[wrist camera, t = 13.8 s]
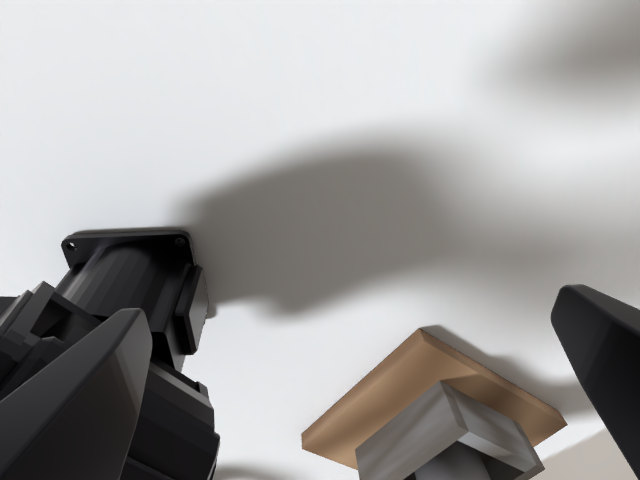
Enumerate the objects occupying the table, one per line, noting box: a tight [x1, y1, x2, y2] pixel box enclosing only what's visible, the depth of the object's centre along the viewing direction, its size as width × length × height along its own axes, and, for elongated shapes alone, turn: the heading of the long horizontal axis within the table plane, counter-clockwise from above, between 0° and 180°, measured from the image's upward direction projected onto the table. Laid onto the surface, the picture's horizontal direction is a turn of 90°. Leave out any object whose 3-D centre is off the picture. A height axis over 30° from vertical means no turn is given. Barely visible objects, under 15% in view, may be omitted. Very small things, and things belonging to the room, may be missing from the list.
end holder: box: [301, 329, 568, 480], centre depth 30 cm, size 16×13×5 cm
